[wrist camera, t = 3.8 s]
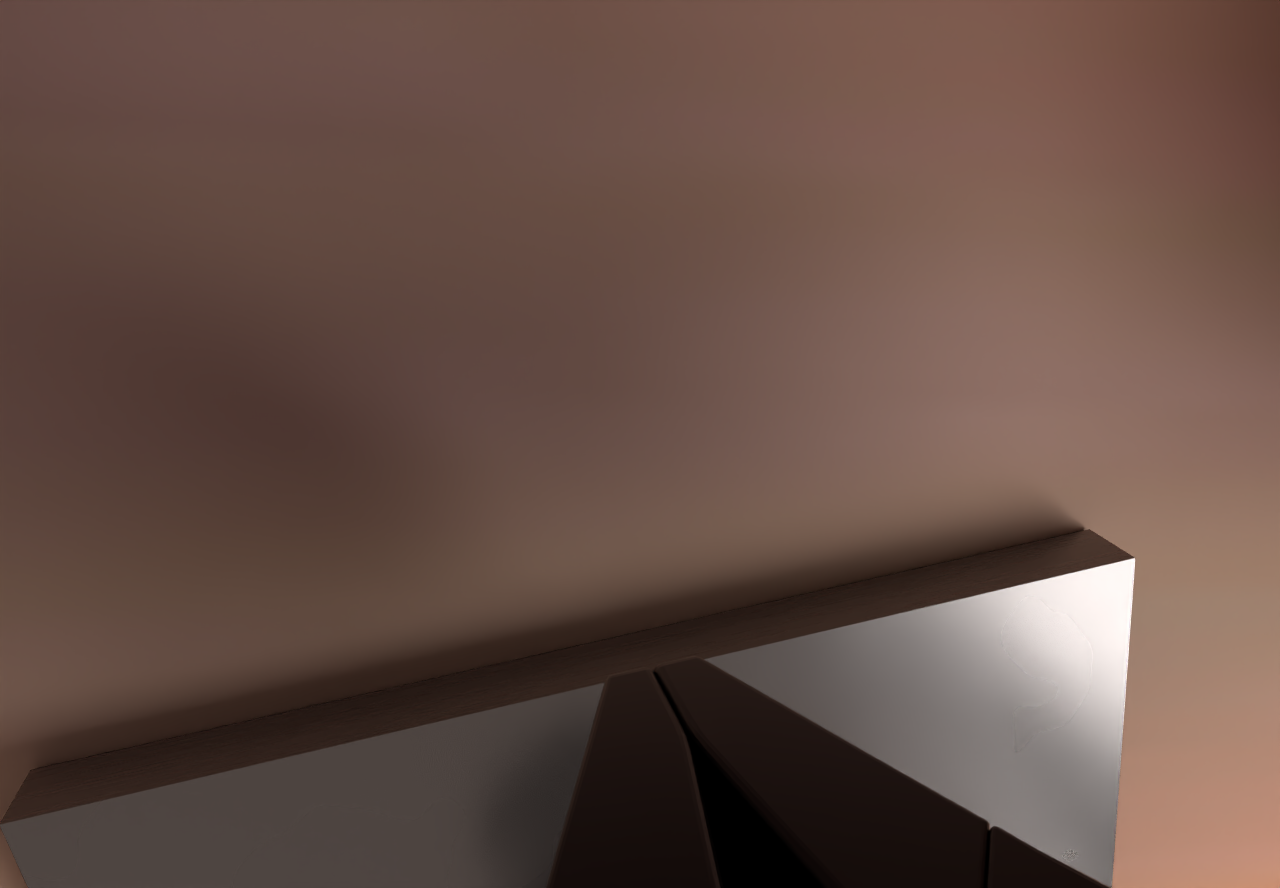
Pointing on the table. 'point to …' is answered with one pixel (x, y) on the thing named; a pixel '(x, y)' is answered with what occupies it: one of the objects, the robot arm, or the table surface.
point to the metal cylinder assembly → (562, 720)
